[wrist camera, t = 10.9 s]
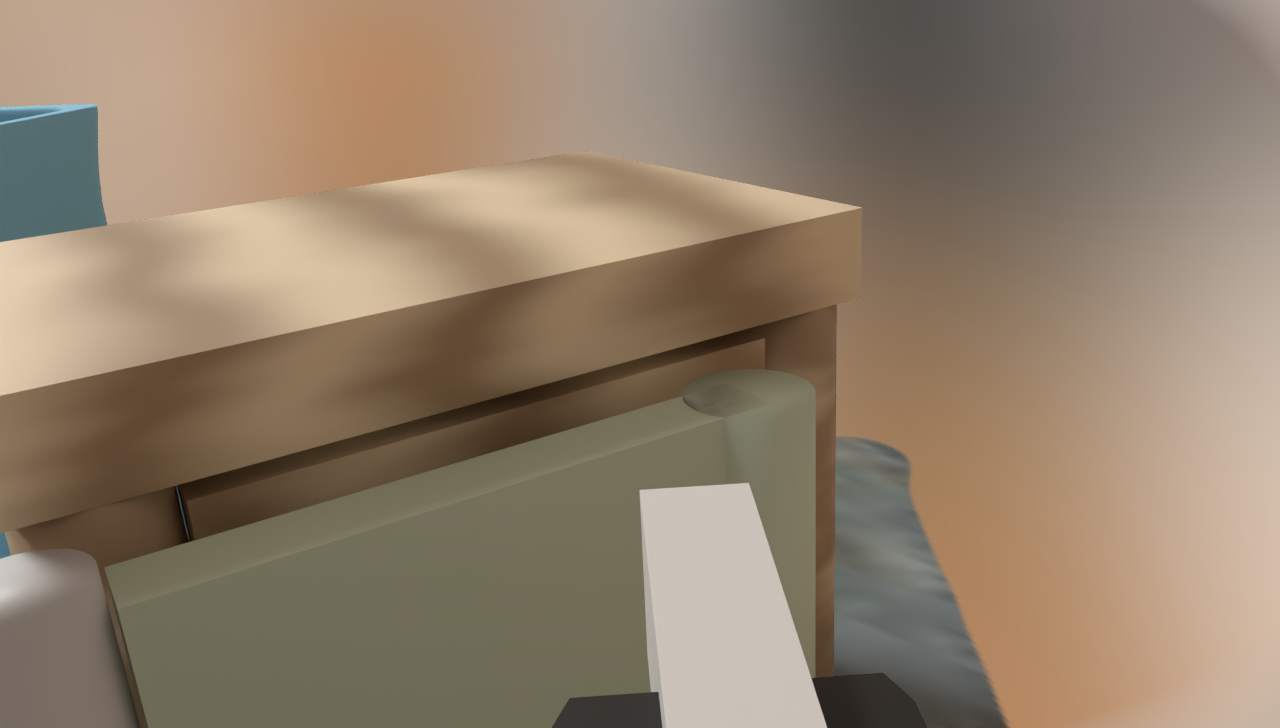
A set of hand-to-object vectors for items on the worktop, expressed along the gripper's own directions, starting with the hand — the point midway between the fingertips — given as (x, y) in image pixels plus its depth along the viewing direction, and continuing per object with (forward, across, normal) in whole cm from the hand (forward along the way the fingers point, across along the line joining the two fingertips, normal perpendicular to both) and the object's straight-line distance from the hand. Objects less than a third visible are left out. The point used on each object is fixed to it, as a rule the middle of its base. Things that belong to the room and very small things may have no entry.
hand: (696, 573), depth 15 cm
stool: (+15, -6, -16) cm, 23 cm away
